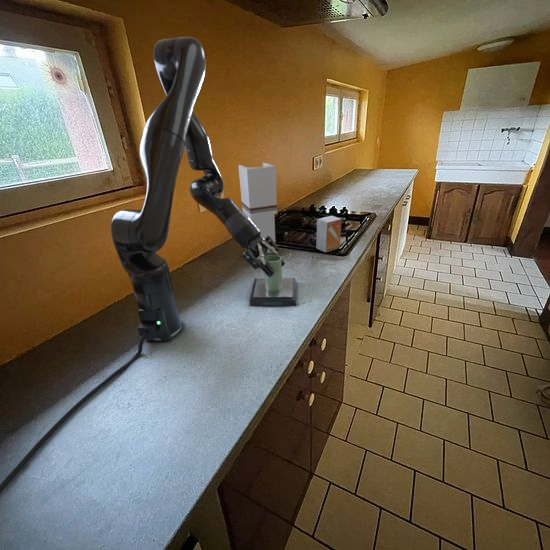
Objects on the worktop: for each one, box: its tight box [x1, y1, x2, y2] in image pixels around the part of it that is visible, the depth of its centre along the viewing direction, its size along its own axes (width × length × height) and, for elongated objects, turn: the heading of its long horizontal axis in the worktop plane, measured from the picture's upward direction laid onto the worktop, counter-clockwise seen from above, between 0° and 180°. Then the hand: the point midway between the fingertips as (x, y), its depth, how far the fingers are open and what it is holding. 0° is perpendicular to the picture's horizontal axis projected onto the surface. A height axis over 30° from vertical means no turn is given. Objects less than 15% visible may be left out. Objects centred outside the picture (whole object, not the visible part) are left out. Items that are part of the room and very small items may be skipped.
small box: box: [315, 215, 343, 253], centre depth 126 cm, size 8×6×13 cm
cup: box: [263, 254, 283, 291], centre depth 94 cm, size 5×5×10 cm
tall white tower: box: [238, 162, 280, 258], centre depth 119 cm, size 11×11×35 cm
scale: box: [248, 277, 297, 307], centre depth 96 cm, size 14×14×3 cm
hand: (277, 270), depth 93 cm, fingers open, 6 cm apart
